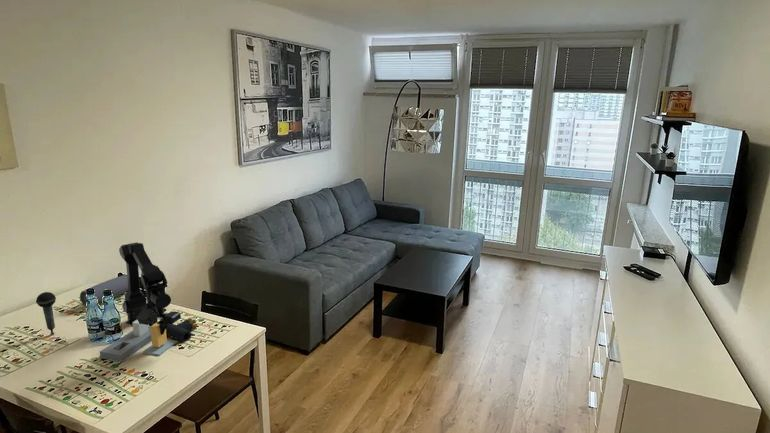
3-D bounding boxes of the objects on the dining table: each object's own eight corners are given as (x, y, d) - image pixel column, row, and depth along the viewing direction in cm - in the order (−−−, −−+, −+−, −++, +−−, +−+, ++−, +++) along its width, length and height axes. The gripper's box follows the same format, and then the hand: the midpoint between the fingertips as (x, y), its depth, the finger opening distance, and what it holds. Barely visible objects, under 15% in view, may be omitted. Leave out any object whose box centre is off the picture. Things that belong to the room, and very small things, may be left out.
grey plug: (134, 341, 188) (132, 322, 186) (143, 335, 193) (141, 317, 190) (140, 342, 187) (138, 323, 185) (149, 336, 192) (147, 318, 190)
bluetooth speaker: (122, 289, 237) (119, 272, 234) (134, 292, 234) (132, 275, 231) (80, 307, 216) (77, 288, 214) (93, 310, 213) (90, 292, 211)
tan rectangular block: (152, 346, 182) (150, 326, 179) (161, 340, 186) (158, 320, 184) (158, 347, 181) (156, 327, 179) (167, 341, 186) (165, 321, 183)
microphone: (39, 336, 190) (31, 293, 184) (57, 329, 195) (49, 288, 190) (48, 340, 186) (39, 297, 181) (65, 333, 192) (58, 291, 187)
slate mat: (142, 352, 180) (142, 351, 180) (161, 339, 190) (161, 338, 190) (159, 355, 178) (159, 354, 178) (177, 341, 188) (177, 340, 188)
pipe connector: (182, 313, 203) (203, 322, 196) (183, 323, 204) (204, 332, 197) (158, 324, 193) (180, 333, 186) (160, 334, 195) (181, 344, 187)
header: (100, 358, 175) (99, 351, 175) (141, 331, 196) (141, 325, 195) (121, 361, 173) (120, 355, 173) (161, 334, 194) (160, 328, 193)
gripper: (119, 305, 173) (124, 340, 177) (160, 311, 169) (164, 347, 173) (140, 293, 183) (145, 327, 187) (180, 299, 179) (183, 333, 183)
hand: (158, 333), depth 183 cm, fingers closed on tan rectangular block, 3 cm apart
